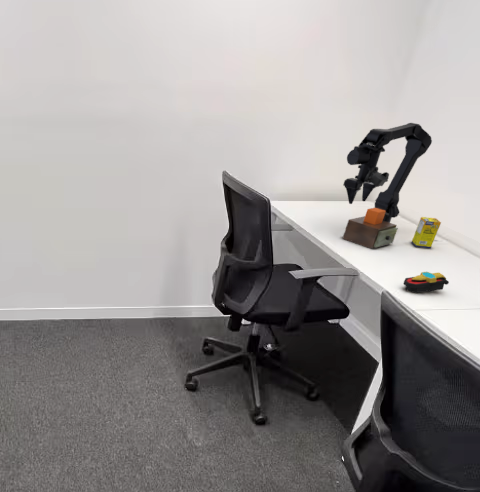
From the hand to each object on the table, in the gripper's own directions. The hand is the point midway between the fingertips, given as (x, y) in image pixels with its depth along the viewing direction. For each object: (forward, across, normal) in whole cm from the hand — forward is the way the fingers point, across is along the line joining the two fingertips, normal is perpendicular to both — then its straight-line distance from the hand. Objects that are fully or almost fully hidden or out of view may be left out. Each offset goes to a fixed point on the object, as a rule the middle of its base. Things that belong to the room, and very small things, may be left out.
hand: (357, 202), depth 230 cm
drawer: (+12, -4, -14) cm, 18 cm away
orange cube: (+5, -3, -11) cm, 13 cm away
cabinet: (+13, -4, -11) cm, 17 cm away
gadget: (+13, -33, -51) cm, 62 cm away
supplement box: (+13, +13, -25) cm, 31 cm away
